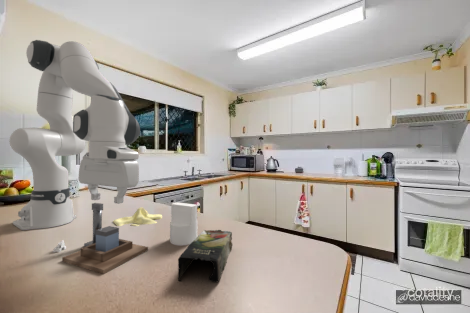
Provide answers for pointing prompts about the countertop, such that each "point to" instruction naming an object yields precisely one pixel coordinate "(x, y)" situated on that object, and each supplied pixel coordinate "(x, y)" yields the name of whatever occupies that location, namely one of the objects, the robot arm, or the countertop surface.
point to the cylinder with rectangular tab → (183, 223)
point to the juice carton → (208, 252)
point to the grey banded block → (107, 238)
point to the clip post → (96, 221)
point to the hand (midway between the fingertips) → (106, 201)
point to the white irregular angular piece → (60, 247)
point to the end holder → (105, 256)
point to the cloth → (138, 218)
